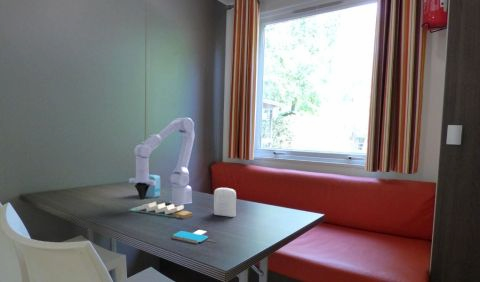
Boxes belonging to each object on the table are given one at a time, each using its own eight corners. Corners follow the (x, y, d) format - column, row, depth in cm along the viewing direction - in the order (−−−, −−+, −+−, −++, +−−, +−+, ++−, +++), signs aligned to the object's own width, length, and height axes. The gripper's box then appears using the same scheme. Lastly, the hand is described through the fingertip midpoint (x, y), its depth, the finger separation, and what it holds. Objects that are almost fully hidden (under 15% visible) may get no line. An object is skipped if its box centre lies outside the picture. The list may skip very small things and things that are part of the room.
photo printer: (237, 215, 133) (237, 187, 133) (234, 217, 129) (234, 189, 128) (215, 212, 136) (216, 186, 136) (212, 215, 132) (212, 188, 132)
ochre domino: (172, 212, 129) (184, 215, 125) (181, 209, 133) (192, 212, 129) (172, 216, 129) (184, 219, 125) (181, 213, 133) (192, 216, 129)
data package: (160, 196, 166) (160, 175, 166) (154, 198, 162) (154, 176, 162) (144, 194, 172) (144, 173, 171) (138, 195, 168) (138, 174, 167)
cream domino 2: (145, 208, 135) (157, 205, 133) (153, 205, 140) (164, 202, 137) (146, 211, 135) (158, 208, 132) (154, 209, 140) (165, 206, 137)
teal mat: (128, 210, 138) (128, 209, 138) (138, 206, 145) (138, 206, 145) (178, 218, 127) (178, 217, 127) (187, 214, 134) (187, 213, 134)
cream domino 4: (164, 211, 131) (176, 207, 129) (171, 208, 136) (183, 204, 133) (165, 214, 131) (177, 210, 128) (172, 211, 136) (184, 208, 133)
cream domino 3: (154, 209, 133) (166, 206, 131) (161, 207, 138) (173, 203, 135) (155, 213, 133) (167, 210, 130) (162, 210, 138) (174, 207, 135)
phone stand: (225, 237, 108) (225, 232, 108) (208, 249, 97) (208, 244, 97) (181, 228, 117) (181, 224, 117) (160, 238, 106) (160, 233, 106)
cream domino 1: (137, 207, 137) (148, 204, 135) (144, 204, 142) (155, 201, 139) (138, 210, 137) (149, 207, 134) (145, 207, 142) (156, 204, 139)
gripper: (124, 170, 138) (124, 199, 138) (148, 172, 132) (149, 202, 132) (135, 168, 144) (135, 196, 145) (159, 170, 138) (159, 199, 139)
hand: (142, 199), depth 139 cm, fingers closed
